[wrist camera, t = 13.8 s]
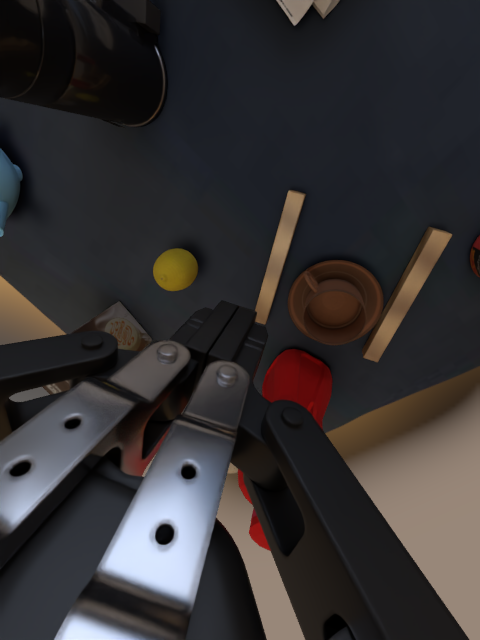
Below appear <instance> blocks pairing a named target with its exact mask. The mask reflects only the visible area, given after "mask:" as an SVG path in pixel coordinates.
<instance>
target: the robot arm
mask: <svg viewBox="0 0 480 640" xmlns="http://www.w3.org/2000/svg"><path fill="white" fill-rule="evenodd" d="M160 14H161V11H160V10H159V9H158V8H157V7H155V6H154V5H153V4H152V3H151V2H150V1H149V0H0V98H5V99H10V100H15V101H19V102H24V103H29V104H33V105H38V106H43V107H47V108H52V109H57V110H61V111H66V112H70V113H75V114H80V115H84V116H89V117H94V118H98V119H101V120H104V121H106V122H109V123H111V124H113V125H116V126H118V127H122V126H120V125H118V124H115V123H113V122H117V123H120V124H124V125H127V126H132V127H142V126H145V125H147V124H149V123H151V122H152V121H153V120H154V119H155V118H156V117H157V116H158V115H159V113H160V112H161V110H162V108H163V105H164V102H165V99H166V94H167V73H166V67H165V63H164V60H163V57H162V55H161V53H160V51H159V49H158V46H157V38H158V36H157V34H158V35H159V33H160ZM110 121H112V122H110ZM123 128H125V127H123ZM256 316H257V312H256V311H253V310H250V309H247V308H244V307H241V306H240V307H239V306H238V305H235V304H232V303H229V302H226V301H223V300H222V301H221V302H220V303H219V304H218V305H217V306H216V308H215V309H214V310H212V309H209V308H203V309H201V310H198V311H196V312H195V313H194V314H193V315H192V316H191V317H190V319H188V320H187V321H186V322H185V324H183V325H182V326H181V327H180V329H179V330H178V331H177V332H176V333H175V334H174V335H173V336H172V337H171V338H170V339H169V340H162V341H156V342H153V343H151V344H150V345H148V346H147V347H146V348H145V349H143V350H142V351H133V350H124V349H118V341H117V339H116V338H115V337H114V336H113V335H111V334H110V333H107V332H103V331H85V332H79V333H73V334H67V335H61V336H55V337H48V338H42V339H36V340H30V341H24V342H18V343H12V344H5V345H0V640H267V639H266V635H265V632H264V629H263V625H262V622H261V618H260V615H259V611H258V608H257V605H256V601H255V598H254V594H253V591H252V587H251V584H250V580H249V577H248V574H247V570H246V568H245V564H244V562H243V559H242V557H241V554H240V552H239V550H238V547H237V546H236V544H235V542H234V540H233V538H232V537H231V535H230V534H229V532H228V531H227V530H226V528H225V527H224V526H223V525H222V523H221V522H220V521H219V520H218V519H217V518H216V515H217V511H218V507H219V503H220V499H221V495H222V492H223V488H224V483H225V480H226V476H227V472H228V468H229V464H230V462H231V463H232V464H233V465H234V466H236V467H237V468H238V469H239V470H240V471H242V472H243V480H244V484H245V486H246V489H247V491H248V494H249V497H250V499H251V502H252V504H253V507H254V509H255V512H256V514H257V517H258V520H259V522H260V525H261V527H262V530H263V532H264V535H265V537H266V540H267V543H268V545H269V548H270V550H271V553H272V555H273V558H274V561H275V563H276V566H277V568H278V571H279V573H280V576H281V578H282V581H283V583H284V586H285V588H286V591H287V594H288V596H289V598H290V601H291V604H292V607H293V609H294V612H295V614H296V617H297V619H298V622H299V624H300V627H301V629H302V632H303V635H304V637H305V640H469V639H468V637H467V636H466V634H465V633H464V631H463V630H462V628H461V627H460V626H459V624H458V623H457V621H456V620H455V618H454V617H453V616H452V614H451V613H450V611H449V610H448V608H447V607H446V606H445V604H444V603H443V601H442V600H441V598H440V597H439V596H438V595H437V593H436V591H435V590H434V588H433V587H432V586H431V584H430V583H429V582H428V580H427V579H426V577H425V576H424V574H423V573H422V571H421V570H420V569H419V567H418V566H417V564H416V563H415V562H414V560H413V558H412V557H411V556H410V554H409V553H408V552H407V550H406V548H405V547H404V546H403V544H402V543H401V541H400V540H399V539H398V537H397V536H396V534H395V533H394V531H393V530H392V529H391V527H390V526H389V524H388V523H387V521H386V520H385V518H384V517H383V516H382V514H381V513H380V511H379V510H378V508H377V507H376V506H375V505H374V503H373V501H372V500H371V498H370V497H369V496H368V494H367V493H366V491H365V490H364V488H363V487H362V486H361V484H360V483H359V482H358V480H357V479H356V477H355V476H354V474H353V473H352V471H351V470H350V468H349V467H348V466H347V464H346V463H345V461H344V460H343V458H342V457H341V456H340V454H339V453H338V451H337V450H336V448H335V447H334V446H333V444H332V443H331V441H330V440H329V439H328V437H327V436H326V434H325V433H324V431H323V430H322V428H321V427H320V426H319V424H318V423H317V421H316V420H315V419H314V417H313V416H312V414H311V413H310V412H309V411H308V410H307V409H306V408H305V407H303V406H302V405H300V404H298V403H296V402H294V401H290V400H277V401H274V402H272V403H271V402H270V401H268V400H267V399H265V398H264V397H263V396H261V395H260V394H259V392H258V391H257V390H256V388H255V387H254V384H253V379H254V377H255V374H256V371H257V369H258V366H259V363H260V360H261V357H262V354H263V350H264V347H265V344H266V341H267V338H268V334H267V330H266V327H263V326H260V325H257V324H254V323H255V320H256ZM67 380H69V385H70V390H67V391H63V392H59V393H55V394H52V395H48V396H44V397H40V398H36V399H33V400H29V401H25V402H14V401H12V400H10V399H9V397H10V396H11V395H13V394H15V393H18V392H21V391H25V390H30V389H33V388H38V387H42V386H46V385H50V384H54V383H59V382H63V381H67ZM186 405H187V406H186ZM185 407H186V408H185ZM184 408H185V410H184ZM183 410H184V412H183V414H182V415H181V413H182V411H183ZM155 454H156V455H155ZM154 456H155V457H154ZM153 457H154V459H153ZM152 459H153V461H152V463H151V465H150V467H149V469H148V471H147V473H146V475H145V477H142V475H143V473H144V470H145V469H146V467H147V466H148V464H149V463H150V461H151V460H152Z"/></svg>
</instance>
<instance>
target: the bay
mask: <svg viewBox="0 0 480 640" xmlns="http://www.w3.org/2000/svg"><path fill="white" fill-rule="evenodd" d="M305 197H306V194H305V193H301V192H298V191H294V190H289V191H288V194H287V198H286V201H285V205H284V209H283V212H282V216H281V219H280V223H279V227H278V230H277V234H276V237H275V241H274V245H273V248H272V252H271V255H270V259H269V262H268V266H267V270H266V273H265V277H264V280H263V284H262V288H261V291H260V295H259V298H258V302H257V306H256V309H255V311H256V312H257V316H256V320H255V321H256V322H259V323H262V324H266V322H267V319H268V316H269V313H270V310H271V307H272V303H273V300H274V297H275V294H276V291H277V287H278V284H279V281H280V278H281V274H282V271H283V268H284V265H285V261H286V258H287V255H288V252H289V248H290V245H291V242H292V239H293V236H294V232H295V229H296V226H297V223H298V219H299V216H300V213H301V210H302V206H303V203H304V200H305ZM451 236H452V234H450V233H448V232H447V231H444V230H440V229H436V228H432V227H428V228H427V230H426V232H425V234H424V236H423V238H422V240H421V241H420V243H419V245H418V247H417V249H416V251H415V253H414V254H413V256H412V258H411V260H410V262H409V264H408V266H407V268H406V269H405V271H404V273H403V275H402V277H401V279H400V281H399V282H398V284H397V286H396V288H395V290H394V292H393V294H392V295H391V297H390V299H389V301H388V303H387V305H386V307H385V308H384V310H383V312H382V314H381V316H380V318H379V320H378V321H377V323H376V325H375V327H374V329H373V331H372V333H371V334H370V336H369V338H368V340H367V342H366V344H365V346H364V347H363V349H362V352H363V357H364V358H366V359H369V360H372V361H375V362H378V361H379V359H380V357H381V355H382V354H383V352H384V350H385V349H386V347H387V345H388V344H389V342H390V340H391V338H392V337H393V335H394V333H395V332H396V330H397V328H398V326H399V325H400V323H401V321H402V320H403V318H404V316H405V315H406V313H407V311H408V309H409V308H410V306H411V304H412V303H413V301H414V299H415V298H416V296H417V294H418V292H419V291H420V289H421V287H422V286H423V284H424V282H425V281H426V279H427V277H428V275H429V274H430V272H431V270H432V269H433V267H434V265H435V263H436V262H437V260H438V258H439V257H440V255H441V253H442V252H443V250H444V248H445V246H446V245H447V243H448V241H449V240H450V238H451Z"/></svg>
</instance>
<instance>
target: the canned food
mask: <svg viewBox="0 0 480 640" xmlns="http://www.w3.org/2000/svg"><path fill="white" fill-rule="evenodd" d="M470 263H471V267H472V270H473V271H474V273H475V274H476V275H477V276H478V277H479V278H480V235H479V236H478V237H477V239H476V240H475V242H474V244H473V246H472V248H471V252H470Z"/></svg>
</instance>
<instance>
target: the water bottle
mask: <svg viewBox="0 0 480 640" xmlns="http://www.w3.org/2000/svg"><path fill="white" fill-rule="evenodd" d="M331 391H332V376H331V372H330V370H329V368H328V367H327V366H326V365H325V364H324V363H323V362H322V361H321V360H319V359H317V358H315V357H313V356H311V355H309V354H308V353H306V352H305V351H301V350H297V349H288V350H285V351H284V352H282V353H281V354H280V355H279V356H277V357H276V359H275V360H274V362H273V363H272V365H271V366H270V368H269V369H268V371H267V373H266V375H265V379H264V382H263V386H262V396H263V397H264V398H265V399H267V400H268V401H270V402H271V403H272V402H274V401H277V400H290V401H294V402H296V403H298V404H300V405H302V406H303V407H305V408H306V409H307V410H308V411H309V412H310V413H311V414H312V416H313V417H314V419H315V420H316V421H317V423H318V424H319V426H320V427H321V428H322V419H323V416H324V414H325V411H326V408H327V406H328V403H329V400H330V397H331ZM322 430H323V429H322ZM238 481H239V487H240V489H241V491H242V492H243V495H244V496H245V498H246V499H247V500H248V501H249V502H250V503H251V504H252V502H251V499H250V497H249V494H248V491H247V489H246V486H245V484H244V480H243V472H242V471H240V470H239V469H238ZM252 505H253V504H252ZM249 534H250V536H251V538H252V539H253V540H254V541H255V542H256V543H257V544H258V545H259V546H261V547H263V548H265V549H267V550H270V548H269V545H268V543H267V540H266V537H265V535H264V532H263V530H262V527H261V525H260V522H259V520H258V517H257V514H256V512H255V509H254V510H253V514H252V519H251V525H250V530H249ZM270 551H271V550H270Z"/></svg>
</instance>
